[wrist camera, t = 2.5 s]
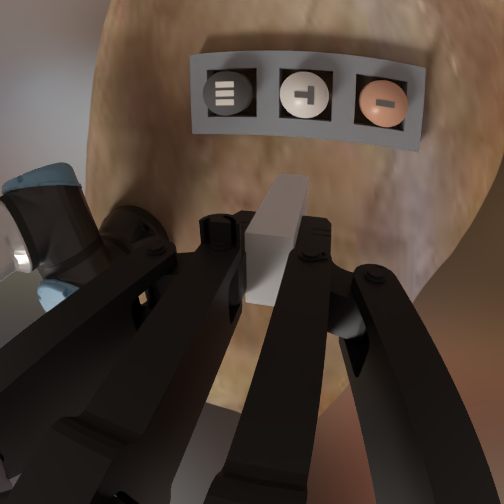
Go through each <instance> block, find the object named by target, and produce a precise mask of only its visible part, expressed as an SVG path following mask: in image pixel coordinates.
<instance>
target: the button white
mask: <svg viewBox="0 0 504 504" xmlns="http://www.w3.org/2000/svg"><path fill="white" fill-rule="evenodd" d="M280 99H281V102H282V105H283V106H284V108H285V109H286V110H287V111H288V112H289V113H291V114H292V115H294V116H296V117H300V118H311V117H314V116H317V115H319V114H320V113H321V112H322V111H323V110H324V109H325V108H326V106H327V104H328V100H329V92H328V88H327V86H326V84H325V82H324V81H323V80H322V79H321V78H320V77H319V76H317V75H315V74H313V73H310V72H297V73H294V74H292V75H290V76H289V77H287V78H286V79H285V81H284V82H283V84H282V86H281V89H280Z"/></svg>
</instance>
